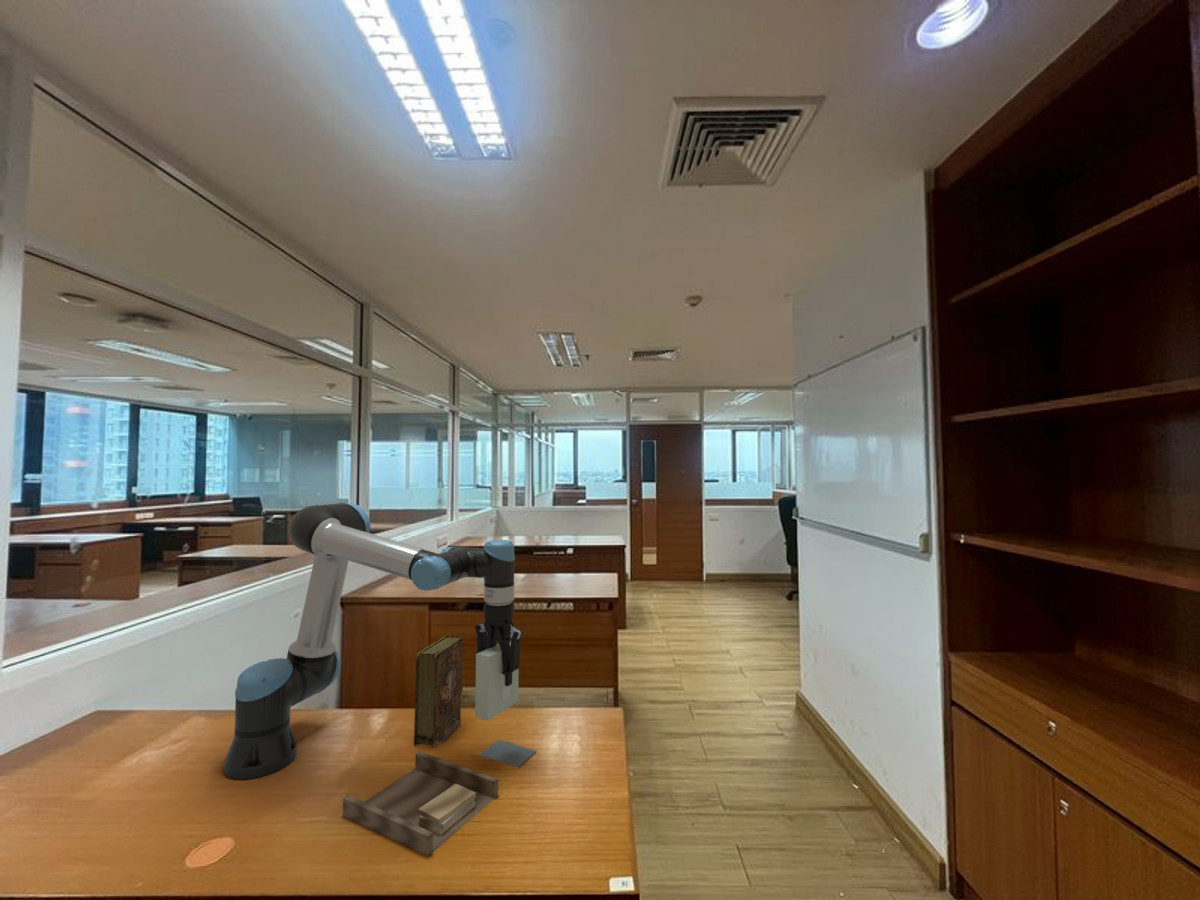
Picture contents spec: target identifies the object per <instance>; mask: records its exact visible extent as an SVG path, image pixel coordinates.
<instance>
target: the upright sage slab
mask: <svg viewBox="0 0 1200 900" xmlns="http://www.w3.org/2000/svg"><path fill="white" fill-rule="evenodd" d="M510 647H511V641H510ZM519 669H520V668H519ZM519 669H517V670H515V671H513V672H512V684H511V685H510V697H508V698H506V699H505V700H501V673H502V672H503V671H504V670H503V663H502V651H501V649H500V645H499V644H498V643H496V646H494V647H492V648H488V649H486V650H484V651H482V652H480V653H477V652H476V655H475V692H474V694H475V695H474V696H475V701H474V702H475V704H474V705H475V706H474V709H475V711H474V712H475V713H474V717H475V718H478V719H481V720H485V721H487V722H488V721H490V720H491V719H493V718H495V717H496V716H497V715H499V714H501V713H503V712H504V711H506V710H507V709H508V708H510V707H511V706H513V705H515V704H516V703H518V702H519V675H520V674H519Z"/></svg>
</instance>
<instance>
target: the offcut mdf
mask: <svg viewBox="0 0 1200 900" xmlns="http://www.w3.org/2000/svg"><path fill="white" fill-rule="evenodd" d="M473 801H474V799H473V800H472V801H470V802H469V803H468V804H466V805H465V806H464V807H462V808H461V809H459V810H458V811H457V812H455V813H454V814H453V815H451V816H450V817H449V818H447V819H446V820H444V821H443V822H442V823H440V824H439V825H438V824H436V823H435V822H433V821H431V820H429V819H427V818H425V817H423V816H419V822H422V823H425V824H428V825H431V826H434V827H437V828H440V829H442V830H444V829H445V828H446V827H447V826H448V825H449V824H450V823H451V822H452V821H453V820H454V819H455V818H456V817H457V816H458V815H459V814H460V813H461V812H462V811H463V810H464V809H465V808H466V807H468V806H469V805H470V804H471V803H472V802H473Z"/></svg>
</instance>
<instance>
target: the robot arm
mask: <svg viewBox="0 0 1200 900" xmlns="http://www.w3.org/2000/svg"><path fill="white" fill-rule="evenodd" d="M287 530H288V537H289V539H290V541H291V543H292V544H293V545H294V546H295V547H296V548H297V549H299V550H301V551H303V552H306V553H309V554H313V556H314V559H313V564H312V569H311V572H310V578H309V582H308V586H307V591H306V595H305V601H304V606H303V609H302V614H301V615H302V616H301V618H300V624H299V628H298V633H297V638H296V640H295V641H293V642H292V643H290V645H289V646H288V650H287V655H286V658H281V657H280V658H279V657H278V658H270V659H267V660H266V661H259V662H257V663H255V664H253V665H251V666H248V667H247V668H246V669H244V670H243V671H242V672H241V673H240V674H239V676H238V677H237V681H236V688H235V690H234V693H235V694H234V696H235V706H234V708H235V712H234V733H233V735H234V736H233V739H232V741H231V744H230V746H229V749H228V752H227V753H226V757H225V760H224V766H223V773H224V775H225V776H226V777H227V778H230V779H231V780H232V779H234V780H248V779H256V778H259V777H263V776H266V775H270V774H272V773H275V772H278V771H279V770H281V769H283V768H285V767H287V766H288V765H289V764H291V763H292V762H293V761H294V760H295V758H296V756H297V754H298V751H297V749H298V744H297V740H296V738H295V734H294V733H293V730H292V727H291V708H292V707H294V706H295V705H297V704H299V703H301V702H303V701H305V700H307V699H309V698H310V697H313V696H315V695H316V694H319V693H321V692H323V691H324V690H325V689H327V688H328V687H330V686H331V685H332V684H333V683H334V682H335V680H336V679H337V677H338V676H339V674H340V672H341V671H340V669H341V665H342V664H341V658H340V657H339V653H338V651H337V650H336V649H337V646H336V644H335V643H334V642H333V641H332V639H333V634H334V630H335V625H336V621H337V616H338V611H339V607H340V602H341V598H342V594H343V587H344V584H345V580H346V579H345V578H346V575H347V569H348V565H349V561H350V562H352V563H355V564H358V565H362V566H365V567H367V568H368V567H369V568H372V569H375V570H376V571H377V570H378V571H382V572H385V573H388V574H390V575H394V576H398V577H400V578H403V579H407V580H411V581H412V583H413V585H415V587H416V588H417V589H418V590H421V591H424V592H425V591H433V590H438V589H440V588H443V587H444V586H447V585H449V584H451V583H454V582H457V581H458V580H462V579H464V578H478V579H482V578H483V591H484V592H483V601H484V602H485V603H484V604H483V618H484V622H482V623H479V624H477V625H475V626H474V629H475V632H476V654H477V653H480V652H482V651H484V650H486V649H488V648H492V647H494V646H496V645H497V644H499V645H500V649H501V651H502V663H503V670H504V671H503V672H502V673H501V700H505V699H506V698H508V697H510V685H511V684H512V672H513V671H515V670H517V669H520V665H521V664H520V663H521V662H520V659H521V639H522V636H523V633H524V632H523V630H522V629H518V628H516V627H515V626H514V625H515V624H514V623H513V622H514V621H513V619H514V616H515V613H514V612H515V611H514V610H515V603H514V601H515V562H516V561H515V560H516V557H515V545H514V542H513V541H511V540H507V539H491V540H486V541H485V543H484V547H465V546H464V547H463V546H447V547H445V548H443V549H442V551H440V552H439V553H436V552H434V551H431V550H426V549H424V548H421V547H417V546H414V545H411V544H407V543H404V542H400V541H397V540H394V539H392V538H386V537H383V536H381V535H378V534H374V533H373V534H372V533H370V530H371V519H370V516H369V514H367V513H366V510H365V509H364V508H363V507H362V506H360V505H358V504H355V503H348V502H347V503H346V502H339V503H330V504H328V503H327V504H315V505H309V506H306V507H303V508H302V509H300V510H298V511H297V512H296V513H295V514H294V515H293V516H292V518H291V519H290V522H289V525H288V528H287ZM510 641H511V647H510Z"/></svg>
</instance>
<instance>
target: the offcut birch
mask: <svg viewBox="0 0 1200 900" xmlns="http://www.w3.org/2000/svg"><path fill="white" fill-rule="evenodd" d="M473 807H475V801H473V802H472V803H471V804H470V805H469V806H468V807H466V808H465V809H464V810H463V811H462V812H461V813H460V814H459V815H458V816H457V817H456V818H455V819H454V820H453V821H452V822H451V823H450V824H449V825H448V826H447V827H446V828H445V829H444V830H442V829H440V828H437V827H434V826H431V825H428V824H425V823H422V822H418V825H419V826H421V827H423V828H425V829H428V830H430V831H432V832H434V833H437V834H439V835H441V834H443V833H444V832H445V831H446V830H447V829H449V828H450V827H451V826H452V825H453V824H454V823H456V822H457V821H458V820H459V819H460V818H462V817H463V816H464V815H465V814H466V813H467V812H469V811H470V810H471V809H472V808H473Z"/></svg>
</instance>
